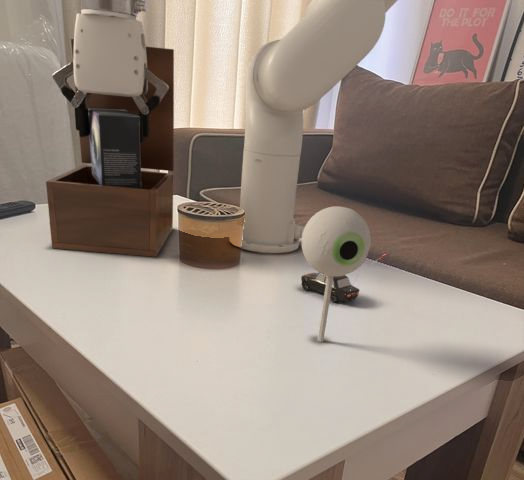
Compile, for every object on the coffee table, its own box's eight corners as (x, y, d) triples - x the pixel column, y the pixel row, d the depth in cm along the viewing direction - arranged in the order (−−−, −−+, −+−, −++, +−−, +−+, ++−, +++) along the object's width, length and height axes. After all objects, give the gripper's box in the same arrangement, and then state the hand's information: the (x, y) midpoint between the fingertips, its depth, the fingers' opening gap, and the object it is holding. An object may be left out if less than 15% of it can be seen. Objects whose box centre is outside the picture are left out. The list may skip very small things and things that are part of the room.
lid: (173, 49, 83) (177, 48, 87) (70, 38, 82) (80, 38, 87) (173, 171, 93) (177, 164, 97) (81, 162, 92) (89, 156, 96)
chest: (156, 257, 82) (156, 191, 77) (51, 248, 81) (45, 181, 76) (172, 229, 98) (173, 173, 93) (85, 221, 97) (82, 165, 92)
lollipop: (301, 356, 56) (321, 214, 49) (281, 328, 62) (296, 198, 55) (362, 353, 58) (389, 216, 51) (336, 326, 64) (357, 200, 57)
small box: (89, 175, 87) (85, 106, 82) (128, 176, 90) (127, 109, 85) (99, 188, 79) (96, 112, 74) (143, 188, 81) (142, 115, 77)
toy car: (314, 283, 77) (322, 230, 74) (382, 310, 70) (394, 252, 66) (297, 287, 75) (304, 232, 71) (364, 316, 67) (376, 256, 64)
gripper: (174, 16, 77) (172, 142, 85) (55, 3, 77) (64, 131, 84) (166, 9, 71) (165, 146, 78) (35, -5, 70) (47, 135, 78)
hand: (113, 138), depth 81 cm, fingers closed on small box, 8 cm apart
